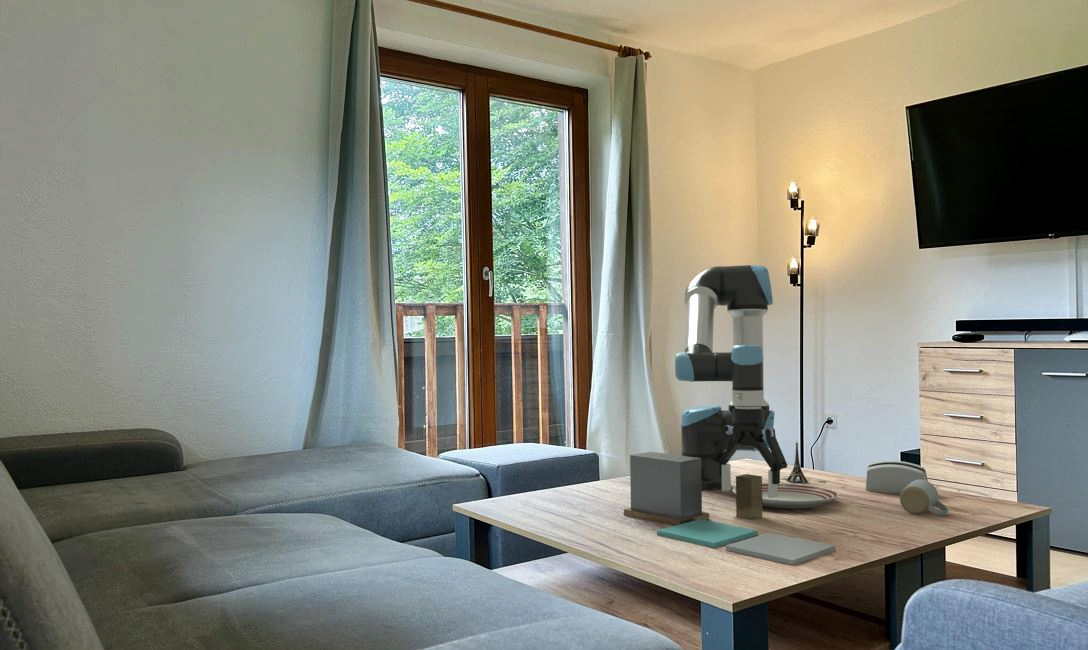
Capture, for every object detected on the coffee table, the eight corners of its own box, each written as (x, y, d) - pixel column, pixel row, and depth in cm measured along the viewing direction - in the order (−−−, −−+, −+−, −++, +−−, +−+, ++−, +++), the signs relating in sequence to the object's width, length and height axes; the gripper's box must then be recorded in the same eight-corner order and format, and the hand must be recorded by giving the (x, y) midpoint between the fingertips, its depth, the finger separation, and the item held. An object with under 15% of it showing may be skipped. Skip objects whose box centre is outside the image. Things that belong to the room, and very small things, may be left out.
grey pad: (725, 550, 181) (725, 545, 181) (769, 537, 192) (769, 532, 192) (793, 565, 169) (792, 560, 169) (835, 550, 180) (835, 545, 180)
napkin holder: (931, 492, 240) (929, 460, 237) (929, 501, 236) (927, 468, 233) (867, 487, 248) (865, 456, 245) (865, 495, 244) (862, 464, 241)
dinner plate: (750, 489, 249) (750, 477, 249) (849, 497, 235) (849, 485, 235) (718, 507, 225) (718, 494, 225) (825, 517, 211) (825, 504, 211)
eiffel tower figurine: (829, 483, 258) (828, 438, 258) (816, 488, 250) (815, 442, 250) (782, 478, 267) (781, 435, 267) (767, 483, 259) (767, 439, 259)
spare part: (736, 516, 212) (735, 476, 212) (747, 514, 215) (746, 474, 215) (751, 519, 209) (751, 478, 209) (762, 516, 212) (761, 476, 212)
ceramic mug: (898, 513, 214) (898, 482, 214) (906, 507, 220) (907, 477, 220) (944, 519, 207) (944, 487, 207) (951, 513, 214) (951, 482, 214)
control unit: (623, 515, 216) (623, 455, 216) (652, 508, 223) (652, 450, 223) (680, 527, 202) (679, 463, 202) (709, 519, 210) (708, 458, 210)
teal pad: (656, 534, 195) (656, 530, 195) (700, 523, 206) (700, 519, 206) (714, 547, 183) (714, 542, 183) (757, 534, 194) (757, 530, 194)
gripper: (697, 405, 219) (699, 489, 219) (783, 411, 200) (784, 502, 200) (716, 404, 224) (717, 485, 224) (801, 409, 205) (802, 498, 205)
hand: (749, 494), depth 212 cm, fingers open, 13 cm apart
